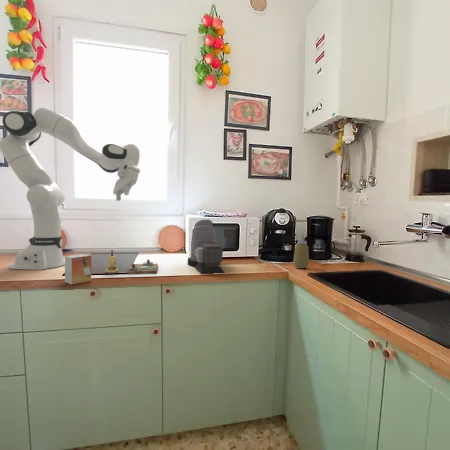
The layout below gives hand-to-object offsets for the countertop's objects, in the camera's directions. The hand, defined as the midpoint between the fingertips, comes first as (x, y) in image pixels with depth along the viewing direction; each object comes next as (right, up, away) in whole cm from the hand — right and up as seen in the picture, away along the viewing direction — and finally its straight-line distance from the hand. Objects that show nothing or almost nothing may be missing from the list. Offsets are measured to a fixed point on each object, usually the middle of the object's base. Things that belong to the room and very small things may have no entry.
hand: (122, 197), depth 138 cm
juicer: (+40, -35, +8) cm, 54 cm away
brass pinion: (-1, -35, -9) cm, 36 cm away
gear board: (+11, -35, -3) cm, 37 cm away
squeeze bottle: (+91, -36, +11) cm, 98 cm away
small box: (-8, -36, -25) cm, 45 cm away
